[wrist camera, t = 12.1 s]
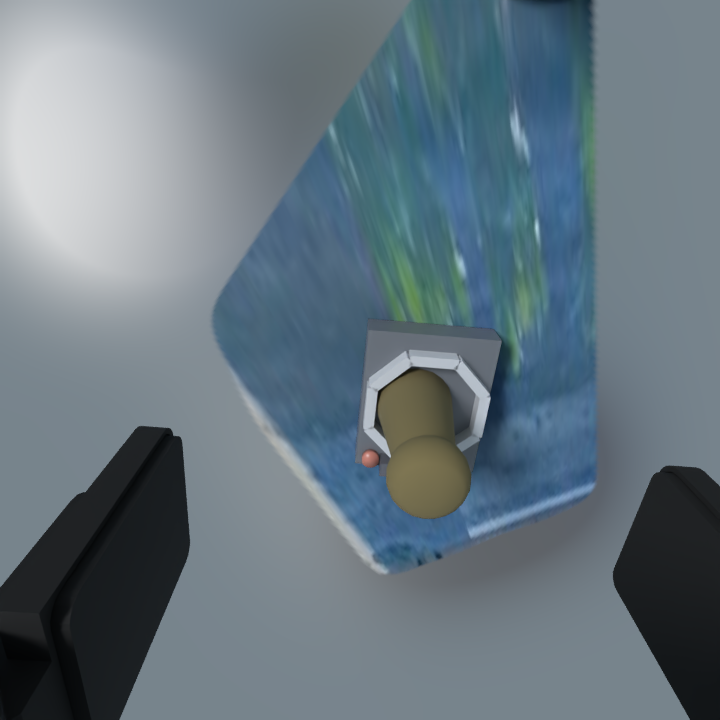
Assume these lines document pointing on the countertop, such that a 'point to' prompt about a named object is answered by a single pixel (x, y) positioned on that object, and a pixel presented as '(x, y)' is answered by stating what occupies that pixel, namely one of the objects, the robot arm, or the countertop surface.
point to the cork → (422, 445)
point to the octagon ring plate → (435, 354)
